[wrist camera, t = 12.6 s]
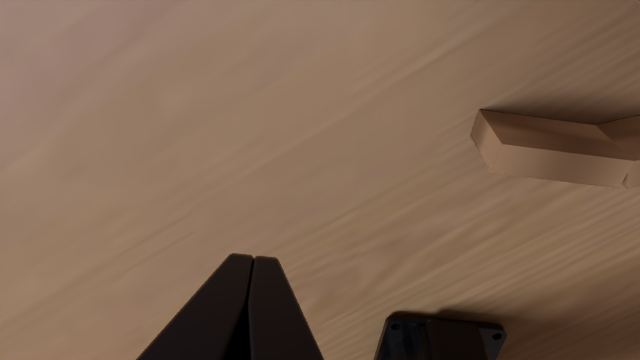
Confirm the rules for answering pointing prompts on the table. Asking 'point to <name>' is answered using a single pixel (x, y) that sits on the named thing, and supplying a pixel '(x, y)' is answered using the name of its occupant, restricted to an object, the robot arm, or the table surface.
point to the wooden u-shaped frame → (560, 148)
